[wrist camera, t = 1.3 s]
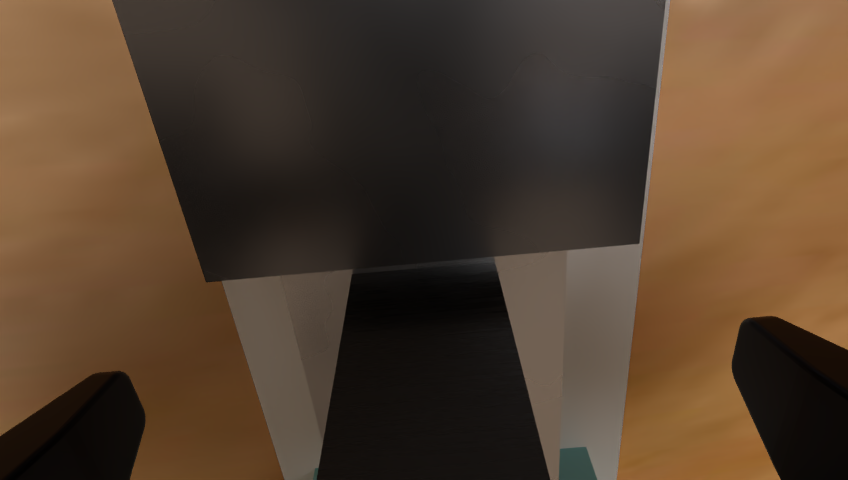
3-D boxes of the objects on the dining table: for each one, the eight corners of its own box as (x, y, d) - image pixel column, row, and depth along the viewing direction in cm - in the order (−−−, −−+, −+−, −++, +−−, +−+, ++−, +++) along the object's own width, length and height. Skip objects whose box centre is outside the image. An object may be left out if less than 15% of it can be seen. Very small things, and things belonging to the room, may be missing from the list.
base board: (600, 520, 20) (608, 548, 19) (317, 541, 20) (312, 569, 19) (711, -641, 8) (750, -716, 7) (-8, -548, 8) (-61, -609, 7)
